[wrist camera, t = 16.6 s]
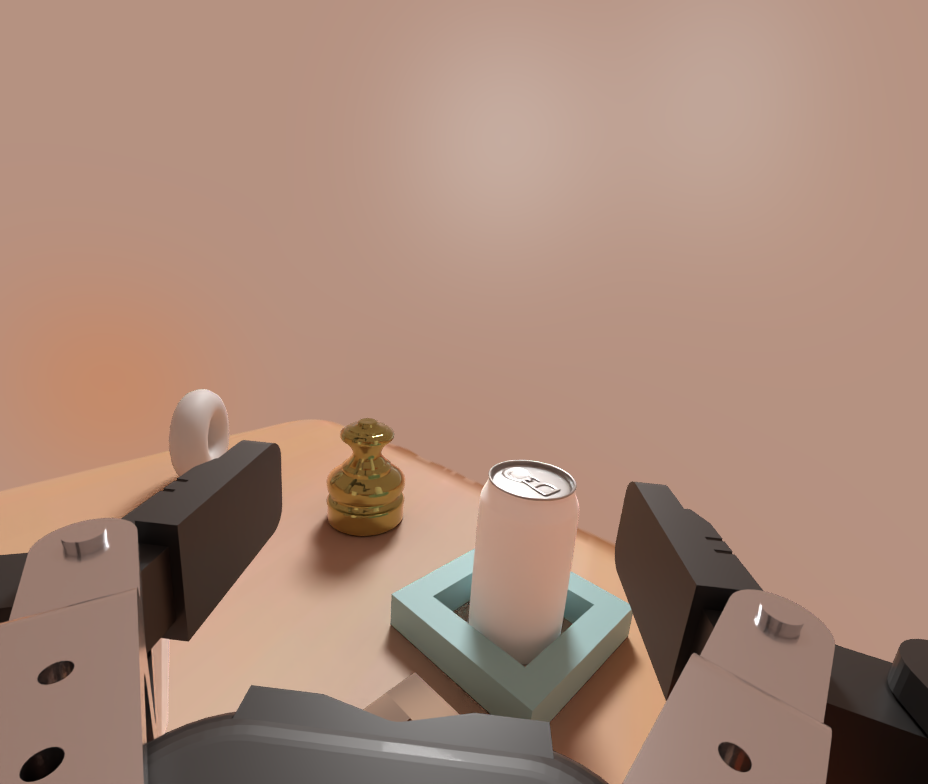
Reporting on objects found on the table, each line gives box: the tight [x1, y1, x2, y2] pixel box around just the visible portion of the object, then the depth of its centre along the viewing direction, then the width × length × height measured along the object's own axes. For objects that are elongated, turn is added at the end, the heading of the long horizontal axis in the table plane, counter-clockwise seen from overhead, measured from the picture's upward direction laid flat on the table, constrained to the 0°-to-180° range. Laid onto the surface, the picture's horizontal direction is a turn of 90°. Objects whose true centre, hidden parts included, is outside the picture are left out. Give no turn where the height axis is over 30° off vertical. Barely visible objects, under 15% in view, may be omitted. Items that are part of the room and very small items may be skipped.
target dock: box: [391, 549, 633, 722], centre depth 34 cm, size 12×12×2 cm
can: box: [468, 460, 579, 666], centre depth 33 cm, size 6×6×12 cm
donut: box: [169, 389, 229, 476], centre depth 51 cm, size 10×4×10 cm, turn 9°
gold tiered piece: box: [327, 418, 405, 536], centre depth 46 cm, size 7×7×10 cm
